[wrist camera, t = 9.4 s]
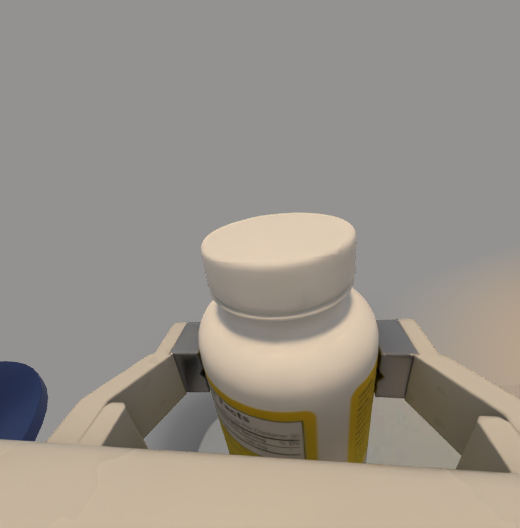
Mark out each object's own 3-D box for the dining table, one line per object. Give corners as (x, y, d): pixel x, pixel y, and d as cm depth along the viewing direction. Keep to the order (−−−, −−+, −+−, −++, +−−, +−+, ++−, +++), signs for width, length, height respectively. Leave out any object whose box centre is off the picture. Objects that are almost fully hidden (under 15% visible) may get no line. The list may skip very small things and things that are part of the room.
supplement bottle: (320, 377, 14) (319, 198, 9) (396, 498, 9) (464, 242, 5) (224, 411, 12) (174, 224, 8) (251, 571, 8) (162, 319, 3)
